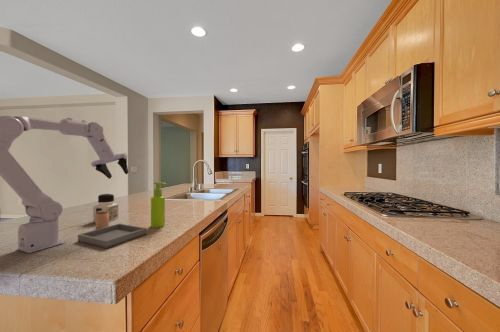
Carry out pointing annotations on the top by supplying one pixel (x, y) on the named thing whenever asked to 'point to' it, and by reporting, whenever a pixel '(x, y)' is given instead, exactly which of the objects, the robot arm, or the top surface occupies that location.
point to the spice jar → (102, 219)
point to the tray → (112, 235)
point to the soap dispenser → (158, 207)
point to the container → (106, 206)
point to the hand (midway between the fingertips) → (118, 175)
